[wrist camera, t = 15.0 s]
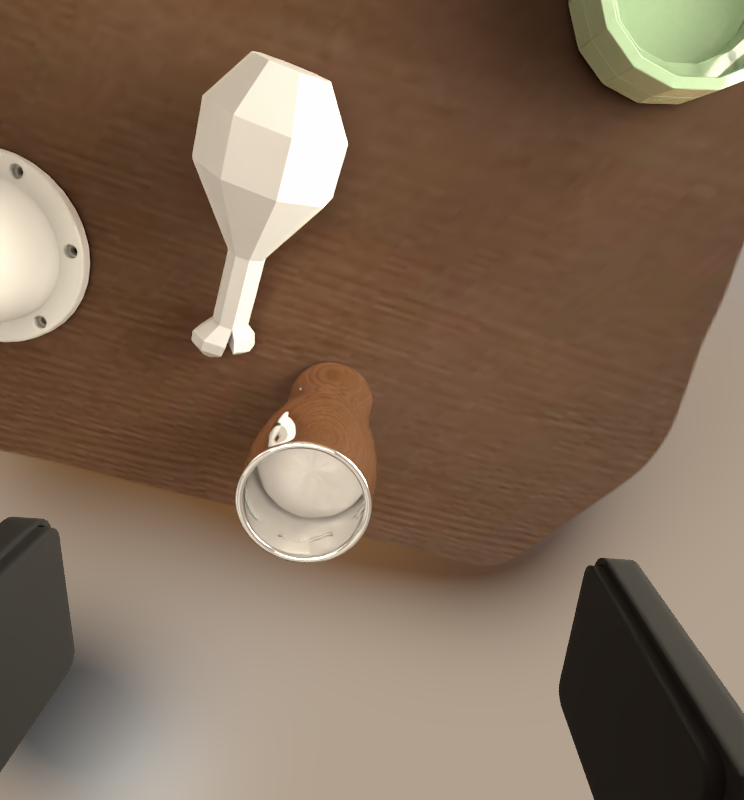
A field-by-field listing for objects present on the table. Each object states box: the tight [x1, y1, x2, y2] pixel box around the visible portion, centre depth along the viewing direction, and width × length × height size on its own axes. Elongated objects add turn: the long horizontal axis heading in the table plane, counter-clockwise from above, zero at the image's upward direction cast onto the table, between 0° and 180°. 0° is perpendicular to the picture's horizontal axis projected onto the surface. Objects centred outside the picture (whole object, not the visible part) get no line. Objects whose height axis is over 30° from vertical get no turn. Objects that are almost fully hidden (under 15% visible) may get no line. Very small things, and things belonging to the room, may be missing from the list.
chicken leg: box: [191, 51, 348, 357], centre depth 34 cm, size 8×18×8 cm, turn 160°
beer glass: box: [235, 362, 377, 563], centre depth 34 cm, size 7×7×15 cm
